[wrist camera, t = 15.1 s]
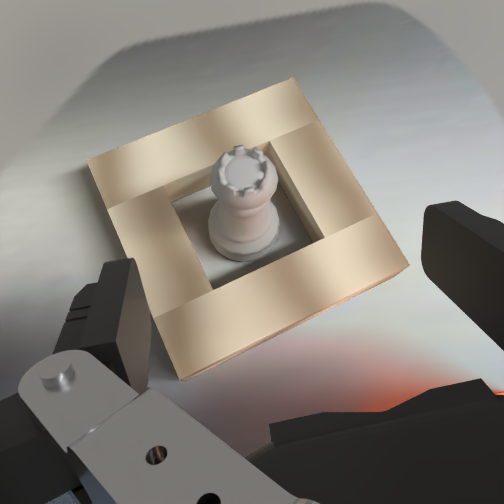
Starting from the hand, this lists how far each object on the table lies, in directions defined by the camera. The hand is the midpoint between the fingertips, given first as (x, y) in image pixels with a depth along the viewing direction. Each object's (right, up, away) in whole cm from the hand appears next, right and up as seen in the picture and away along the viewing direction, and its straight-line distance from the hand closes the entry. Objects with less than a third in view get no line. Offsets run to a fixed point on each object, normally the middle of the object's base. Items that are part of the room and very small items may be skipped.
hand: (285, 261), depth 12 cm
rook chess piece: (-1, +2, +16) cm, 16 cm away
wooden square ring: (-2, +2, +16) cm, 16 cm away
